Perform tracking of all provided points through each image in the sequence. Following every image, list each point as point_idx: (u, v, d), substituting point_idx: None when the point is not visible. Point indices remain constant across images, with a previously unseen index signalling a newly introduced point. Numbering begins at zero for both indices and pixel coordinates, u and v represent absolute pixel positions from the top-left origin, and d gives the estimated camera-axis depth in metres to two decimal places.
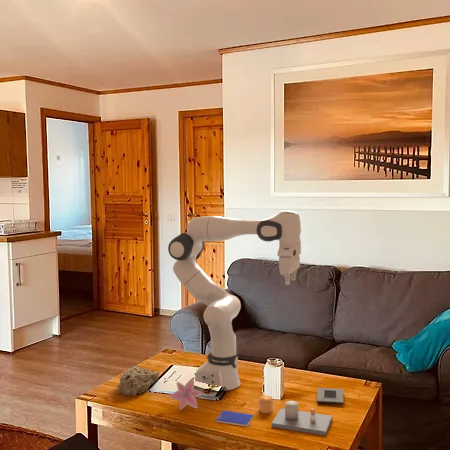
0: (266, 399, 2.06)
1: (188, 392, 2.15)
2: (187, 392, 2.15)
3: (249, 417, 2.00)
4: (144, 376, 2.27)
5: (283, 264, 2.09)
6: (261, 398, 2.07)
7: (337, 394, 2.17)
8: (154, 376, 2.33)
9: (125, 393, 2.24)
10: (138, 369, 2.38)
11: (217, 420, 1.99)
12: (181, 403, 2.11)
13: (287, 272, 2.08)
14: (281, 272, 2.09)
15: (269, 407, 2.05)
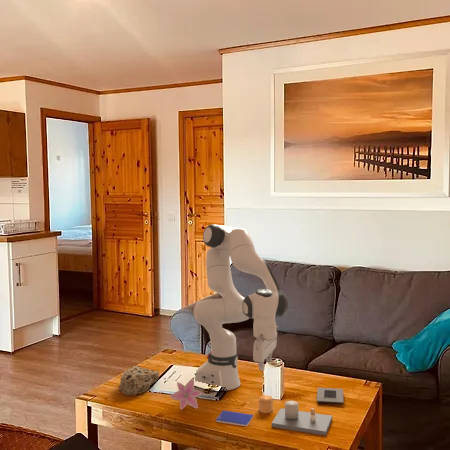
0: (266, 399, 2.06)
1: (188, 392, 2.14)
2: (187, 392, 2.14)
3: (249, 417, 2.00)
4: (145, 376, 2.28)
5: None
6: (261, 398, 2.07)
7: (337, 394, 2.17)
8: (155, 376, 2.33)
9: (126, 393, 2.24)
10: (138, 369, 2.38)
11: (217, 420, 1.99)
12: (181, 403, 2.11)
13: None
14: None
15: (269, 407, 2.05)
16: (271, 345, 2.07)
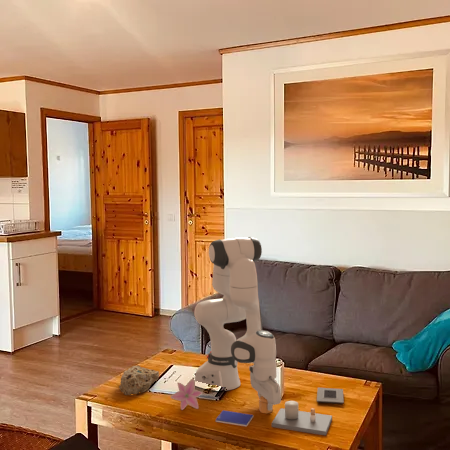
0: (266, 399, 2.06)
1: (189, 392, 2.14)
2: (188, 392, 2.14)
3: (249, 417, 2.00)
4: (145, 375, 2.28)
5: None
6: (261, 398, 2.07)
7: (337, 394, 2.17)
8: (155, 375, 2.33)
9: (126, 393, 2.24)
10: (138, 369, 2.38)
11: (217, 420, 1.99)
12: (182, 403, 2.11)
13: None
14: None
15: None
16: None
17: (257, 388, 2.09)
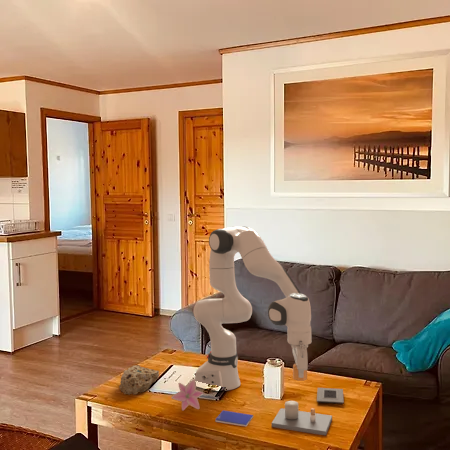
0: None
1: (190, 393, 2.14)
2: (189, 393, 2.14)
3: (248, 417, 2.00)
4: (145, 375, 2.28)
5: None
6: (295, 364, 1.96)
7: (337, 394, 2.17)
8: (155, 375, 2.34)
9: (126, 392, 2.25)
10: (138, 368, 2.39)
11: (216, 420, 1.99)
12: (183, 404, 2.10)
13: None
14: None
15: None
16: None
17: None
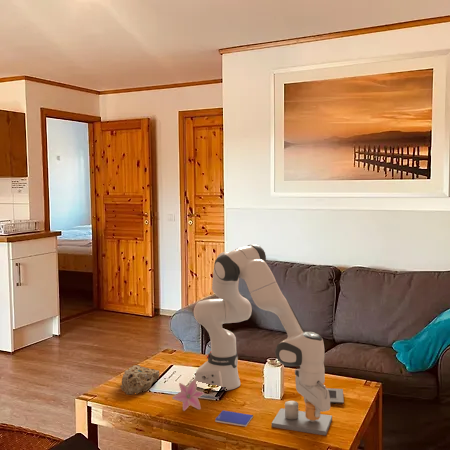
0: (313, 405, 1.92)
1: (191, 393, 2.14)
2: (190, 393, 2.14)
3: (248, 417, 2.00)
4: (146, 375, 2.29)
5: None
6: (308, 404, 1.94)
7: (337, 394, 2.17)
8: (156, 374, 2.35)
9: (128, 392, 2.25)
10: (139, 368, 2.39)
11: (216, 420, 1.99)
12: (184, 404, 2.10)
13: None
14: None
15: None
16: None
17: (303, 393, 1.96)
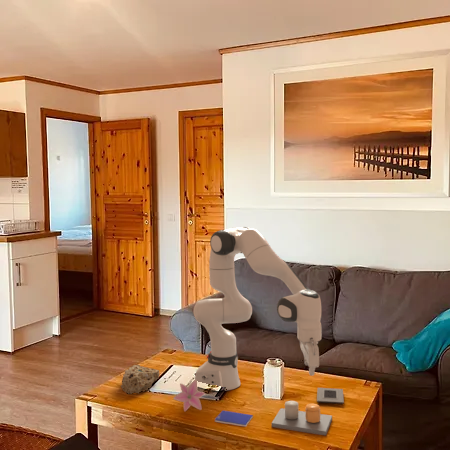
0: (313, 408, 1.93)
1: (191, 393, 2.13)
2: (190, 393, 2.13)
3: (248, 417, 2.00)
4: (147, 374, 2.29)
5: None
6: (308, 406, 1.94)
7: (337, 394, 2.17)
8: (156, 374, 2.35)
9: (129, 392, 2.25)
10: (139, 368, 2.39)
11: (216, 420, 1.99)
12: (185, 404, 2.10)
13: None
14: None
15: (316, 416, 1.92)
16: None
17: (302, 350, 1.99)
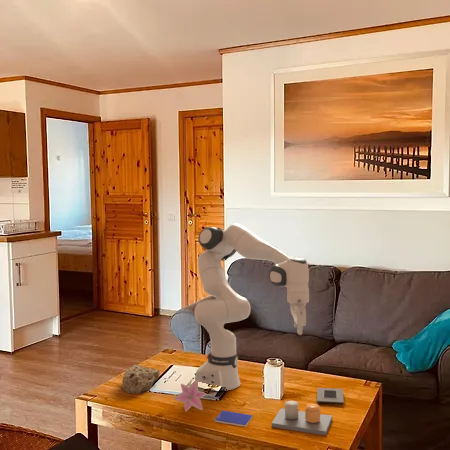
0: (313, 408, 1.93)
1: (192, 393, 2.13)
2: (191, 393, 2.13)
3: (248, 417, 1.99)
4: (148, 374, 2.30)
5: None
6: (308, 406, 1.94)
7: (337, 394, 2.17)
8: (156, 374, 2.36)
9: (130, 391, 2.26)
10: (139, 367, 2.40)
11: (216, 420, 1.99)
12: (186, 405, 2.09)
13: None
14: None
15: (316, 416, 1.92)
16: None
17: (292, 313, 2.17)
